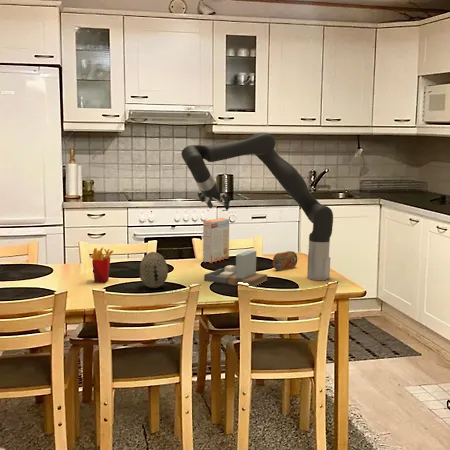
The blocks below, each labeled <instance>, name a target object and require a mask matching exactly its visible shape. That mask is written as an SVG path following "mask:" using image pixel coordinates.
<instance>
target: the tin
mask: <svg viewBox="0 0 450 450" xmlns="http://www.w3.org/2000/svg"><path fill="white" fill-rule="evenodd" d="M297 263H298V255H297V253H296V251H291V250H287V251H282V252H277V253H276V254H274V256H273V258H272V267H273V268H274V269H275V270H276V271H287V270H292V269H294V268H295V267H296V265H297Z"/></svg>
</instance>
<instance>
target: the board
mask: <svg viewBox="0 0 450 450" xmlns="http://www.w3.org/2000/svg"><path fill="white" fill-rule="evenodd" d="M265 281H267V282H268V274H265V273H258V272H256V274H253V275H251V276H248V277H246V278H244V279H240V278H236V274H234V275H232V276H229V277H227V284H226V285H230V286H237V283H238V282H243V283H248V284H250V286H256V287H258V286H260V285H262V284H261V283H263V282H265ZM265 283H266V282H265ZM259 284H260V285H259ZM263 284H264V283H263ZM257 285H258V286H257ZM237 287H238V286H237Z"/></svg>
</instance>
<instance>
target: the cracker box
mask: <svg viewBox="0 0 450 450" xmlns="http://www.w3.org/2000/svg"><path fill="white" fill-rule="evenodd" d="M202 224H203V229H202V230H203V232H202V233H203V236H202V237H203V240H202V242H203V243H202V248H203V249H202V250H203V251H202V255H203V257H202V258H203V259H202V261H203V263H206V262H209V263H208V264H214V263H213V262H215V263H218V262H217V261H219V262H222V261H221V260H223V261H225V260H224V259H228V258H229V259H230V219H229V218H226V217H225V218H224V217H220V218H219V217H218V218H214V219H208V220H203V223H202ZM229 259H228V260H229Z"/></svg>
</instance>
